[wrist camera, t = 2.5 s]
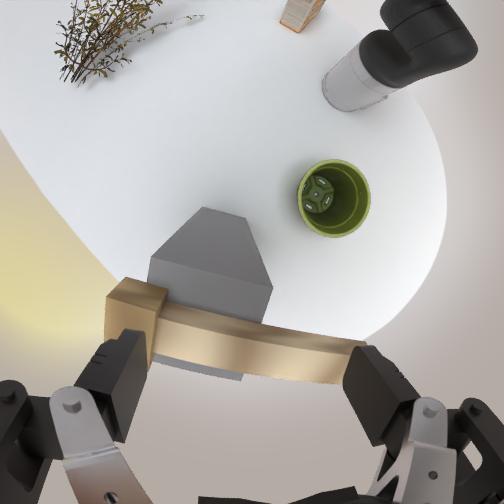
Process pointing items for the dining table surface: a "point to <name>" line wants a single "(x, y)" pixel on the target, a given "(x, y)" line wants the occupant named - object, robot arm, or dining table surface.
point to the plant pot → (334, 198)
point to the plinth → (212, 274)
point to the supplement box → (300, 13)
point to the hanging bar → (223, 338)
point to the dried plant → (95, 26)
